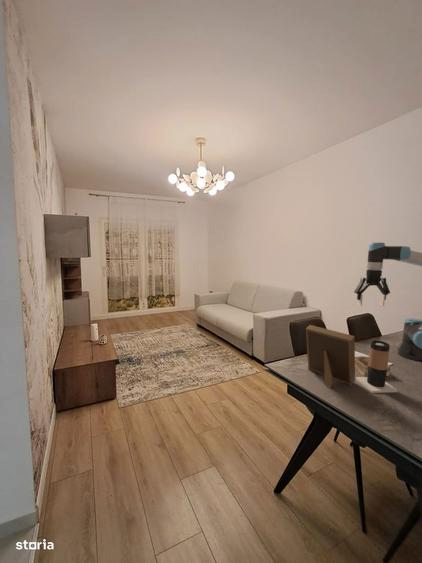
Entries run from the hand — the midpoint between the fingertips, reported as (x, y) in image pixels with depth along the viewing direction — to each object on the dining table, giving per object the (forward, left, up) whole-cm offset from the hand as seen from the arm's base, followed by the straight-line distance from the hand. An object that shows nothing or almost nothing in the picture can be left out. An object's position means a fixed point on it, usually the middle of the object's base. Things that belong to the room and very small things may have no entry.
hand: (370, 305), depth 151 cm
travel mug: (+17, +32, -31) cm, 48 cm away
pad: (+17, +32, -32) cm, 48 cm away
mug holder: (+10, +17, -32) cm, 37 cm away
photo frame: (+38, +25, -32) cm, 56 cm away
